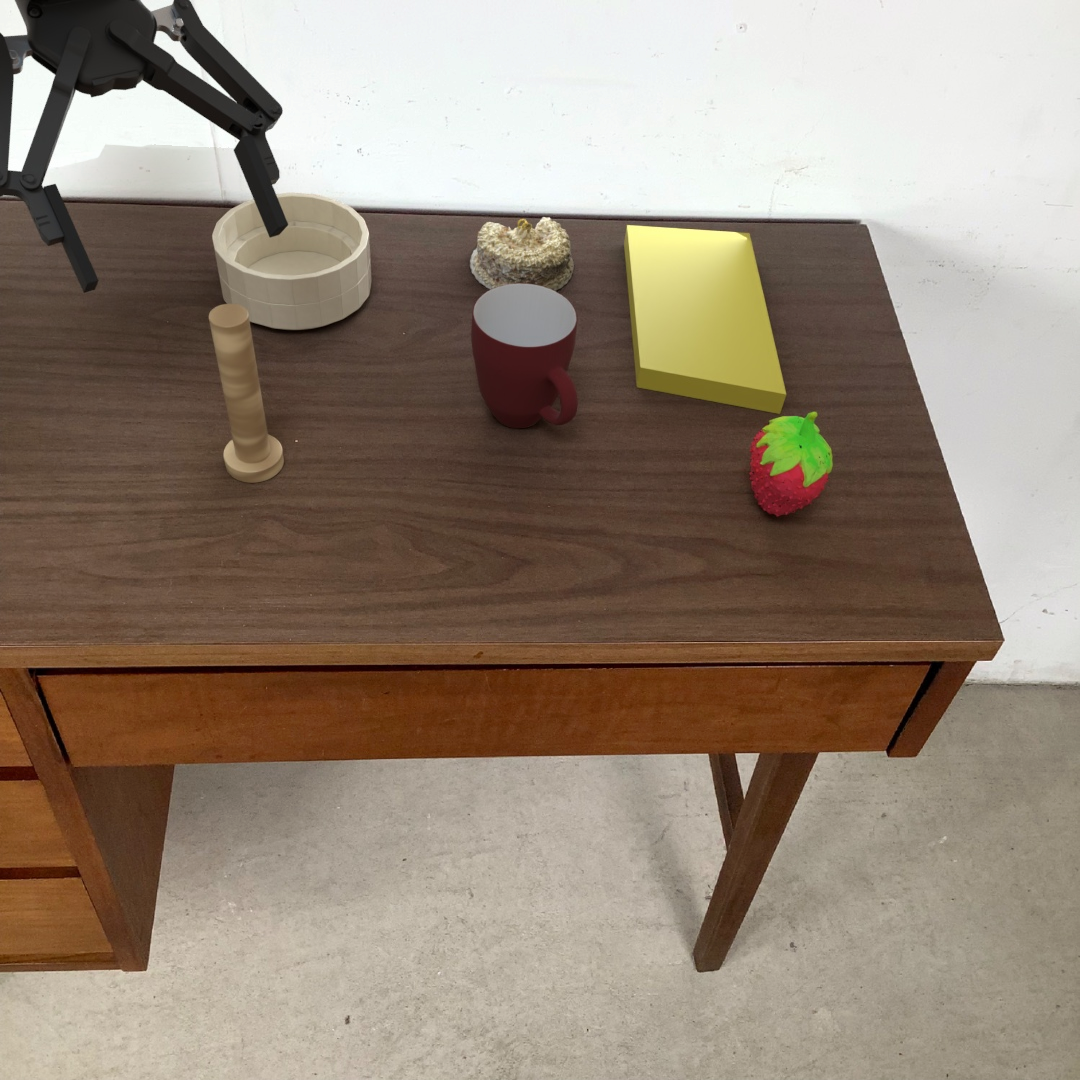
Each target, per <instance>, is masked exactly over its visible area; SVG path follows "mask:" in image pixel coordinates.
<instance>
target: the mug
mask: <svg viewBox="0 0 1080 1080" xmlns="http://www.w3.org/2000/svg"><path fill="white" fill-rule="evenodd" d="M470 327H471V328H470V329H471V330H470V340H471V350H472V356H473V361H474V366H475V370H476V371H475V373H476V377H477V382H478V383H477V384H478V388H479V392H480V394H481V397H482V399H483V401H484V402H485V404H486V406H487V408H488V409H489V411H490V412H491V413H492V415H493V417H494V418H495V419H496V421H498V422H499V423H500V424H501V425H503V426H506V427H508V428H512V429H525V428H529V427H532V426H534V425H536V424H537V423H539V421H540V420H541V419H542V418H543V419H544V420H545V421H547V422H548V423H549V424H552V425H555V426H562V425H566V424H568V423H570V422H571V421H572V420H574V418H575V417H576V415H577V412H578V407H579V399H578V393H577V388H576V386H575V383H574V381H573V378H572V377H571V376H570V375H569V373H568V370H569V367H570V364H571V361H572V358H573V354H574V350H575V347H576V338H577V331H578V313H577V310H576V308H575V307H574V305H573V303H572V301H570V300H569V299H568V298H567V297H565V295H563V294H561V293H560V292H558V291H554V290H552V289H549V288H547V287H543V286H540V285H535V284H527V283H514V284H506V285H502V286H498V287H495V288H493V289H488V290H487V291H485V292H484V293H482V294H481V295H480V296H479V297H478V298H477V299H476V301H475V303H473V307H472V312H471V326H470ZM558 397H559V401H560V402H559V403H560V411H558V410H556V409H555V408H553V406H554V404H555V403H556V401H557V399H558Z"/></svg>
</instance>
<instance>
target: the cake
mask: <svg viewBox="0 0 1080 1080" xmlns="http://www.w3.org/2000/svg"><path fill="white" fill-rule="evenodd" d="M522 222H523V223H522ZM521 223H522V224H521ZM476 239H477V240H476V243H477V245H476V247H475V249H474V250H473V252H472V254H471V255H470V260H469V267H470V268H469V269H470V271H471V274H472V275H473V276H474V278H475V279H476V280H477V281H478V283H479V284H481V285H483V286H484V287H485V288H486V289H488V290H490V289H493V288H495V287H498V286H502V285H506V284H514V283H527V284H535V285H540V286H543V287H547V288H549V289H552V290H554V291H556V292H558V290H561V289H563V287H564V286H565V285H566V284H568V282H569V281H570V280H571V278H572V275H573V273H574V268H575V260H573V258H572V252H571V249H572V248H571V247H572V246H571V238H570V237H569V234H567V230H566V229H565V228H562V227H561V223H558V222H557V221H555V220H552V218H551V217H545V216H543V217H541V219H540V220H539V222H537V223H536V225H535V228H533V225H532V223H529V222H528V221H527V219H526V218H520V219H519V220H517V227H514V229H512V228H511V227H510V226H508V227H507V226H505V225H502V224H501V223H498V222H496V223H495V222H491V221H486V222H485V223H484V224H483V225H482V226H481V228H480V230H479V231H477V236H476Z"/></svg>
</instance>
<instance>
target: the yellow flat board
mask: <svg viewBox="0 0 1080 1080" xmlns="http://www.w3.org/2000/svg"><path fill="white" fill-rule="evenodd" d="M624 235H625V236H624V241H623V247H624V248H623V249H624V250H623V251H624V258H625V259H624V260H625V270H626V282H627V283H626V284H627V292H628V305H629V315H630V326H631V338H632V339H631V340H632V349H633V360H634V371H635V383H636V388H637V389H638V388H639V389H643V390H649V391H653V392H660V393H664V394H665V393H666V394H671V395H676V396H681V397H687V398H693V399H697V400H703V401H709V402H715V403H719V404H724V405H730V406H736V407H740V408H741V407H742V408H746V409H752V410H757V411H762V412H768V413H773V414H778V415H781V413H782V409H783V407H784V403H785V400H786V397H787V391H786V387H785V383H784V377H783V374H782V370H781V369H782V368H781V365H780V360H779V357H778V351H777V347H776V343H775V339H774V334H773V329H772V326H771V321H770V318H769V313H768V308H767V304H766V299H765V295H764V291H763V286H762V282H761V278H760V273H759V269H758V264H757V260H756V256H755V251H754V247H753V242H752V239H751V234H750V232H737V231H724V230H723V231H722V230H721V231H720V230H708V229H695V228H694V229H692V228H691V229H690V228H679V227H663V226H661V227H660V226H647V225H632V224H631V225H630V224H626V229H625V234H624Z"/></svg>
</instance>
